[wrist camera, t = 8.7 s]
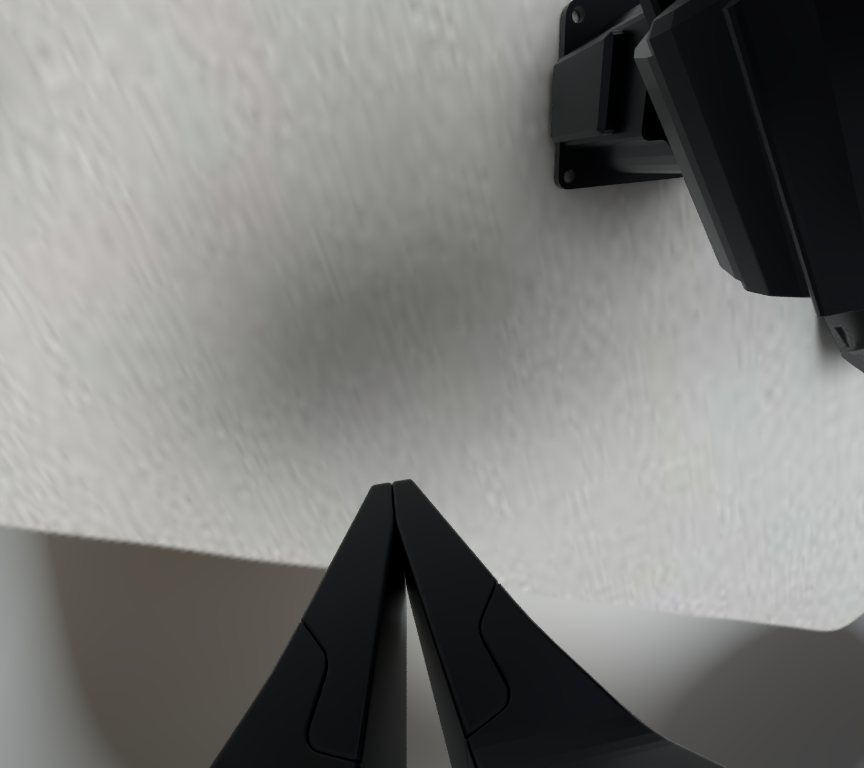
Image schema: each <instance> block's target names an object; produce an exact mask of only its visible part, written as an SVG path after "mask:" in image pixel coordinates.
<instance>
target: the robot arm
mask: <svg viewBox="0 0 864 768" xmlns="http://www.w3.org/2000/svg"><path fill="white" fill-rule="evenodd" d="M573 10H577V11H578V12H579V13H580V20H579V23H575V22H574V21H573V20H572V12H573ZM551 136H552V138H553V139H554V141H555V142H556V157H555V183H556V185H557V186H558V187H559V188H561V189H576V188H586V187H595V186H604V185H614V184H623V183H633V182H642V181H651V180H661V179H670V178H679V177H683V178H684V180H685V183H686V185H687V187H688V190H689V192H690V195H691V197H692V199H693V202H694V204H695V207H696V209H697V212H698V214H699V216H700V219H701V221H702V224H703V226H704V228H705V231H706V233H707V236H708V238H709V240H710V243H711V245H712V248H713V250H714V253H715V255H716V257H717V260H718V262H719V265H720V266H721V267H722V268H723V269H724V270H726V271H727V272H728V273H729V274H730V275H732V276H733V277H734V278H735V279H737V280H740V281H741V282H742V285H743V287H744V289H745V290H747V291H750V292H754V293H759V294H763V295H767V296H777V297H800V298H811V299H812V302H813V306H814V309H815V312H816V314H817V315H819V316H831V315H836V314H840V313H845V312H849V311H854V310H858V309H863V308H864V0H573V1H571V2H570V3H569V4H568V5H567V6H566V7H565V9H564V10H563V12H562V18H561V37H560V60H559V61H558V62H557V64H556V65H555V66H554V79H553V106H552V133H551ZM567 171H569V172H570V173H571V178H570V180H569V181H568V182H567V183H566V182H565V181H564V174H565V173H566V172H567ZM405 580H406V583H405ZM406 586H407V591H408V595H409V600H410V604H411V608H412V612H413V616H414V620H415V624H416V628H417V632H418V636H419V640H420V643H421V648H422V652H423V656H424V660H425V664H426V667H427V671H428V675H429V680H430V683H431V687H432V691H433V695H434V700H435V703H436V707H437V711H438V715H439V719H440V723H441V727H442V731H443V735H444V739H445V743H446V747H447V751H448V755H449V759H450V763H451V766H452V768H727V767H725V766H723V765H721V764H719V763H716V762H714V761H712V760H710V759H708V758H706V757H704V756H702V755H700V754H698V753H696V752H693V751H691V750H689V749H687V748H685V747H683V746H681V745H679V744H677V743H675V742H673V741H671V740H669V739H668V738H666V737H664V736H663V735H661V734H659V733H658V732H656V731H655V730H653V729H652V728H651V727H649V726H647V725H646V724H645V723H643V722H642V721H641V720H640V719H638V718H637V717H636V716H635V715H633V714H632V713H631V712H630V711H629V710H628V709H627V708H625V707H624V706H623V705H622V704H621V703H620V702H619V701H618V700H616V699H615V698H614V697H613V696H612V695H611V694H610V693H609V692H608V691H607V690H606V689H605V688H604V687H603V686H601V685H600V684H599V683H598V682H597V681H596V680H595V679H594V678H593V677H592V676H591V675H589V673H587V672H586V671H585V670H584V669H583V668H582V667H581V666H580V665H579V664H578V663H577V662H575V660H573V659H572V658H571V657H570V656H569V655H568V654H567V653H566V652H565V651H564V650H563V649H562V648H561V647H559V646H558V645H557V644H556V643H555V642H554V641H553V640H552V639H551V638H550V637H549V636H548V635H547V634H546V633H545V632H544V631H543V630H542V629H541V628H540V627H539V626H538V625H537V624H536V623H535V622H534V621H533V620H532V619H531V618H530V617H529V616H528V615H527V614H526V613H525V611H524V610H523V609H522V608H521V607H520V606H519V605H518V604H517V603H516V602H515V600H514V599H513V598H512V597H511V596H510V595H509V593H508V592H507V591H506V590H505V589H504V588H503V586H502V585H501V584H498V581H497V580H496V578H495V577H494V576H493V575H492V574H491V573H490V571H489V570H488V569H487V568H486V567H485V565H484V564H483V563H482V562H481V561H480V560H479V558H478V557H477V556H476V555H475V554H474V552H473V551H472V550H471V549H470V548H469V547H468V545H467V544H466V543H465V542H464V541H463V539H462V538H461V537H460V536H459V535H458V534H457V532H456V531H455V530H454V529H453V528H452V526H451V525H450V524H449V523H448V522H447V521H446V519H445V518H444V517H443V516H442V515H441V514H440V512H439V511H438V510H437V509H436V508H435V506H434V505H433V504H432V503H431V502H430V501H429V499H428V498H427V497H426V496H425V495H424V493H423V492H422V491H421V490H420V489H419V488H418V486H417V485H416V484H415V483H414V482H413V481H412V480H411V479H407V480H401V481H395V482H394V483H393V484H391V483H383V484H377V485H373V486H372V487H371V489H370V490H369V492H368V494H367V496H366V498H365V500H364V502H363V504H362V505H361V507H360V509H359V511H358V513H357V515H356V517H355V519H354V520H353V522H352V524H351V526H350V528H349V530H348V532H347V534H346V535H345V537H344V539H343V541H342V543H341V545H340V547H339V549H338V550H337V552H336V554H335V556H334V558H333V560H332V562H331V564H330V566H329V567H328V569H327V571H326V573H325V575H324V577H323V579H322V581H321V582H320V584H319V586H318V588H317V590H316V592H315V594H314V596H313V597H312V599H311V601H310V603H309V605H308V607H307V609H306V611H305V612H304V614H303V616H302V618H301V622H300V623H298V625H297V627H296V629H295V631H294V633H293V635H292V636H291V638H290V640H289V642H288V644H287V646H286V648H285V649H284V651H283V653H282V654H281V656H280V658H279V660H278V662H277V663H276V665H275V667H274V669H273V670H272V672H271V674H270V675H269V677H268V679H267V680H266V682H265V683H264V685H263V686H262V688H261V689H260V691H259V693H258V694H257V696H256V697H255V699H254V700H253V702H252V704H251V706H250V707H249V708H248V710H247V711H246V713H245V714H244V716H243V717H242V719H241V720H240V722H239V724H238V725H237V726H236V728H235V729H234V731H233V732H232V734H231V736H230V737H229V738H228V740H227V741H226V743H225V744H224V746H223V747H222V749H221V750H220V752H219V753H218V755H217V757H216V758H215V760H214V761H213V763H212V764H211V766H210V767H209V768H407V687H406V686H407V671H406V670H407V667H406V666H407V657H406V656H407V654H406V653H407V649H406V648H407V647H406V645H407V642H406V639H407V636H406V635H407V634H406V633H407V631H406V630H407V627H406Z"/></svg>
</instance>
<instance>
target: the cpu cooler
mask: <svg viewBox="0 0 864 768" xmlns="http://www.w3.org/2000/svg"><path fill="white" fill-rule="evenodd" d="M824 319H825V321H826V323H827V325H828V327H829V329H830V331H831V334H832V336H833V338H834V340H835V342H836V344H837V346H838V349H839V351H840V353H841V355H842V357H843V358H844V359H845V360H847V361H848V362H850V363H851V364H852V365H854V366H855V367H856V368H858V369H859V370H861V371H862V372H863V373H864V308H863V309H858V310H854V311H849V312H845V313H840V314H836V315H831V316H824Z"/></svg>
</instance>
